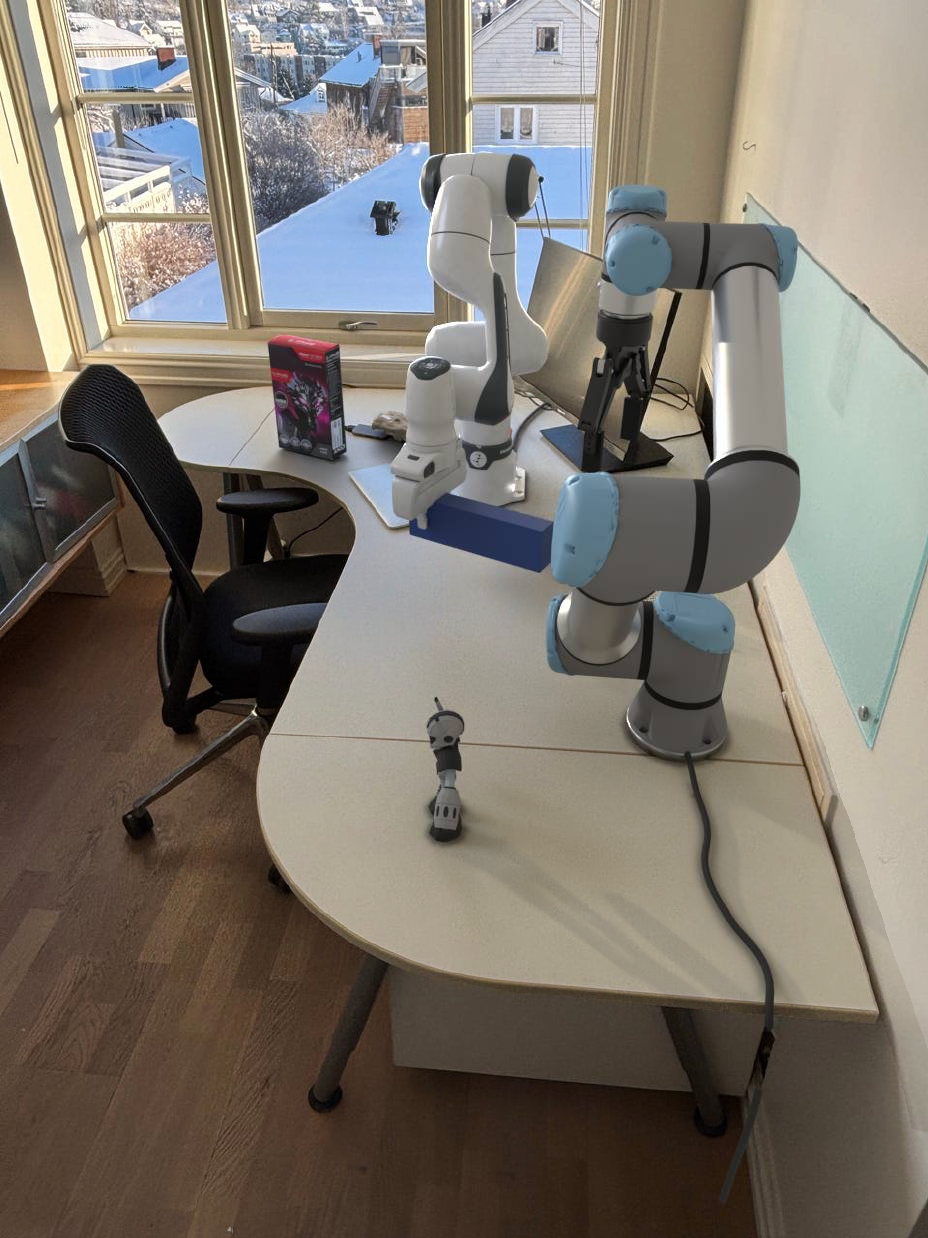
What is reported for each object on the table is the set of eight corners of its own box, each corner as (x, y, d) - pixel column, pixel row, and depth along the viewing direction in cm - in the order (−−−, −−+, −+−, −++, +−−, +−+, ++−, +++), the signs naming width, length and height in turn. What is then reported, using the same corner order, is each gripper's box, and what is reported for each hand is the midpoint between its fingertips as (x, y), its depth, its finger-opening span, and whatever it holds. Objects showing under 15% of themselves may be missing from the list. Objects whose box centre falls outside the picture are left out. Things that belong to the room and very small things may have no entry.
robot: (467, 874, 119) (468, 759, 108) (429, 876, 119) (427, 760, 108) (460, 769, 135) (460, 659, 124) (426, 770, 135) (424, 660, 124)
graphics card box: (276, 448, 231) (264, 340, 216) (293, 439, 236) (282, 332, 221) (333, 462, 225) (324, 351, 209) (349, 452, 230) (341, 343, 214)
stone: (355, 434, 231) (360, 411, 228) (377, 426, 244) (381, 404, 242) (433, 459, 227) (439, 435, 225) (451, 449, 241) (456, 426, 238)
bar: (550, 562, 165) (553, 521, 160) (539, 573, 162) (542, 531, 157) (422, 525, 176) (421, 485, 172) (409, 534, 173) (408, 494, 168)
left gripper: (446, 428, 173) (446, 495, 180) (384, 468, 158) (387, 539, 166) (475, 435, 170) (474, 503, 178) (415, 476, 155) (417, 548, 163)
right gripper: (636, 285, 135) (621, 422, 147) (559, 330, 118) (549, 480, 130) (685, 293, 132) (665, 432, 144) (613, 340, 115) (597, 493, 127)
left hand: (432, 521), depth 171 cm, fingers closed on bar, 4 cm apart
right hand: (610, 455), depth 137 cm, fingers open, 13 cm apart
